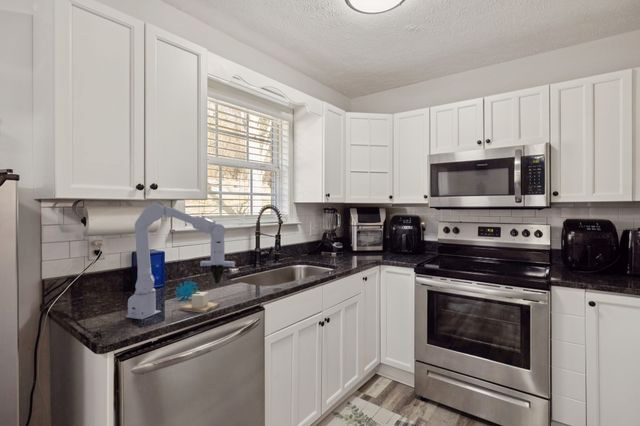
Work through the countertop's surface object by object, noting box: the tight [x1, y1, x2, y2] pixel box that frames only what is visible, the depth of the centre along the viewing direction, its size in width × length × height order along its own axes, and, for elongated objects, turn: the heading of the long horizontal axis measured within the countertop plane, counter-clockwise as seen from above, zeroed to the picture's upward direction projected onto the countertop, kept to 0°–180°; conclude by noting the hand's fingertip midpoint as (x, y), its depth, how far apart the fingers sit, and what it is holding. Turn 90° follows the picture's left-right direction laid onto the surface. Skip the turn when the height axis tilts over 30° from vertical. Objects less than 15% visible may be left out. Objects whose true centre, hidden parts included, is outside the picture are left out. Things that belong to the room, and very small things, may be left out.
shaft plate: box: [179, 301, 221, 314], centre depth 138 cm, size 10×12×4 cm
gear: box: [174, 280, 200, 301], centre depth 154 cm, size 11×6×10 cm
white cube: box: [191, 291, 209, 307], centre depth 138 cm, size 5×5×5 cm
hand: (217, 282), depth 141 cm, fingers closed
